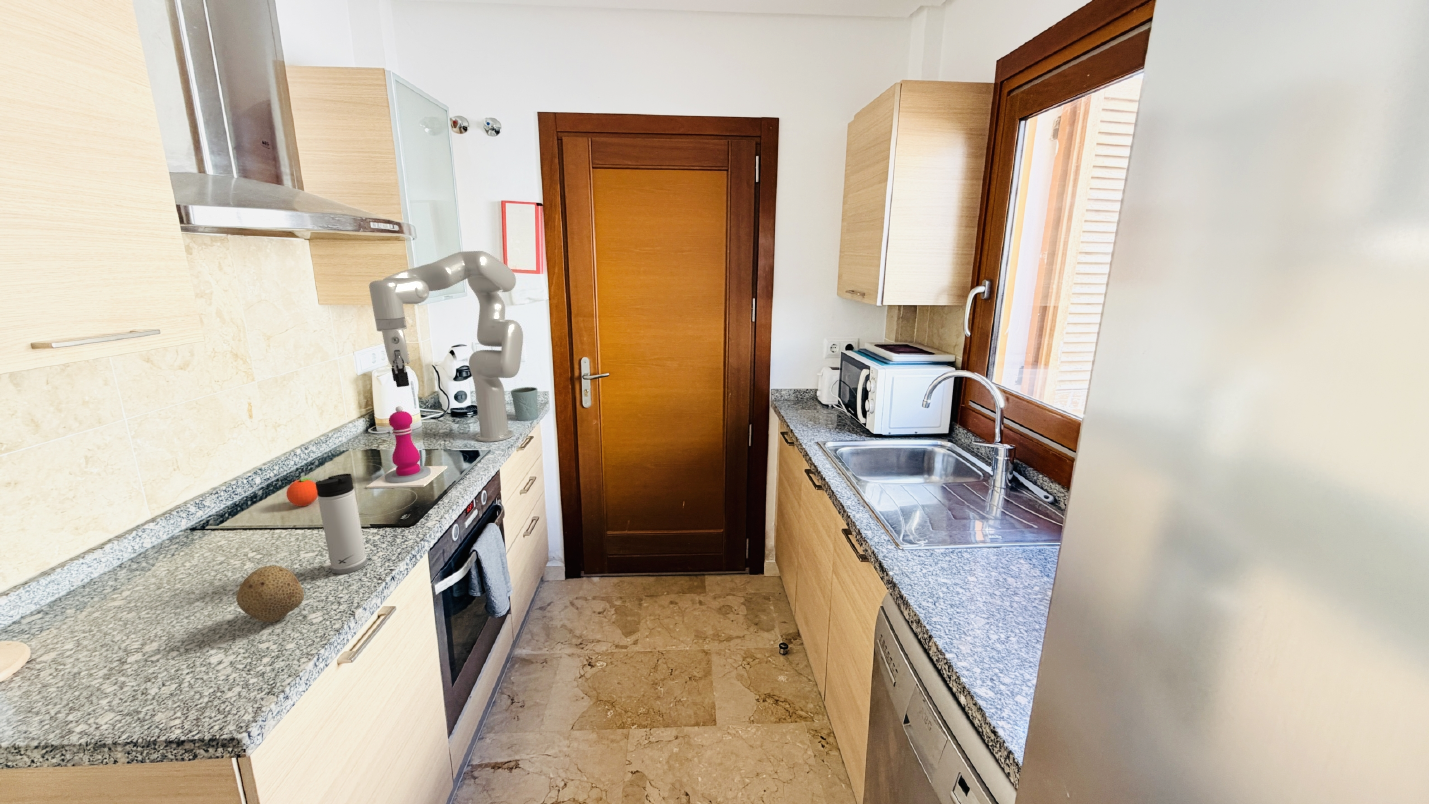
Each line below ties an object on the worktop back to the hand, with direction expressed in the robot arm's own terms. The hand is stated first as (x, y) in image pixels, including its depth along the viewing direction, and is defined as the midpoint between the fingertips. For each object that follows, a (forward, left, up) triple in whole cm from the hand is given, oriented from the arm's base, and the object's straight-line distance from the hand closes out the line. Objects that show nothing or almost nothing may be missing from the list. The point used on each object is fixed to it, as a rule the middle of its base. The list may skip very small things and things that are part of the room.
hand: (401, 383), depth 170 cm
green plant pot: (-61, +17, -28) cm, 69 cm away
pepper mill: (+4, 0, -26) cm, 26 cm away
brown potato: (+75, +10, -28) cm, 81 cm away
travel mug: (+57, +13, -28) cm, 65 cm away
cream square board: (+4, 0, -27) cm, 28 cm away
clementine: (+22, -18, -28) cm, 40 cm away
